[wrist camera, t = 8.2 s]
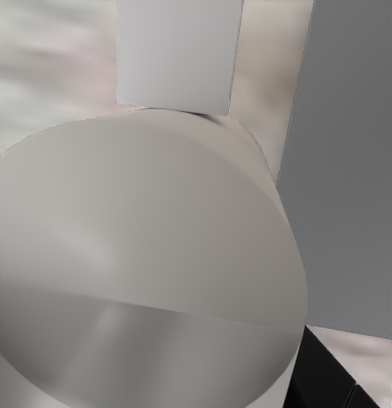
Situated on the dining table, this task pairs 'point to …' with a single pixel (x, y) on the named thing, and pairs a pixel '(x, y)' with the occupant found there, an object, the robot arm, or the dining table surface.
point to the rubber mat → (343, 166)
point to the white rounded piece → (150, 238)
